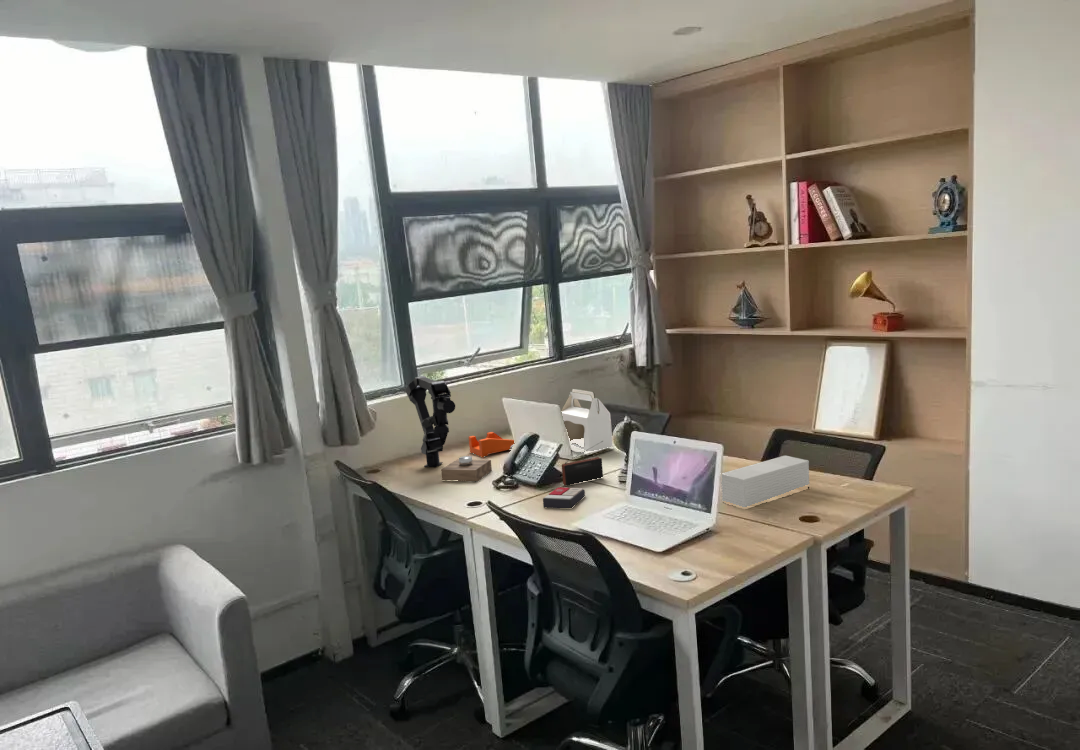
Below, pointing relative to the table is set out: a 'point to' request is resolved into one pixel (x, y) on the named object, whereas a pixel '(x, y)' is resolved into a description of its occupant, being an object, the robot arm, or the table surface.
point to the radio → (582, 470)
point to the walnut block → (466, 470)
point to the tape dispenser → (489, 444)
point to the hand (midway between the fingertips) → (443, 444)
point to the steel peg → (465, 461)
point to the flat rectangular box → (563, 497)
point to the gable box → (587, 421)
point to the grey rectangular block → (764, 480)
